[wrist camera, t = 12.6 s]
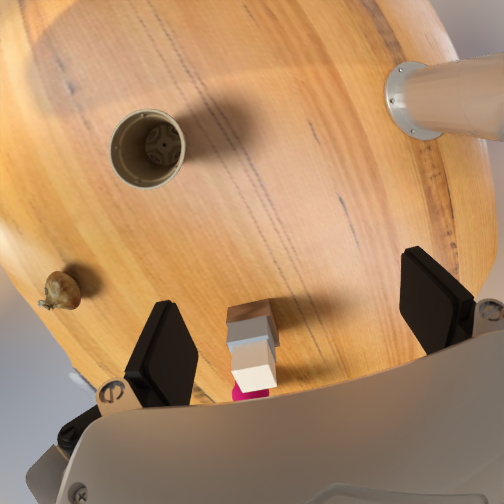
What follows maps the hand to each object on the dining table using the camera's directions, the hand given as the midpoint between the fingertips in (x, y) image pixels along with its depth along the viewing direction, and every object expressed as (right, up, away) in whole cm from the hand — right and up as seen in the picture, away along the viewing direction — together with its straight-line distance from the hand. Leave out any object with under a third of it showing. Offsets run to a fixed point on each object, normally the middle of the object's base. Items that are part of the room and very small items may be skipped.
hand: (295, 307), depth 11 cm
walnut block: (-1, -9, +38) cm, 39 cm away
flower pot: (-14, +17, +26) cm, 34 cm away
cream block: (-1, -13, +29) cm, 32 cm away
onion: (-36, -4, +35) cm, 50 cm away
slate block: (-2, -11, +33) cm, 35 cm away
